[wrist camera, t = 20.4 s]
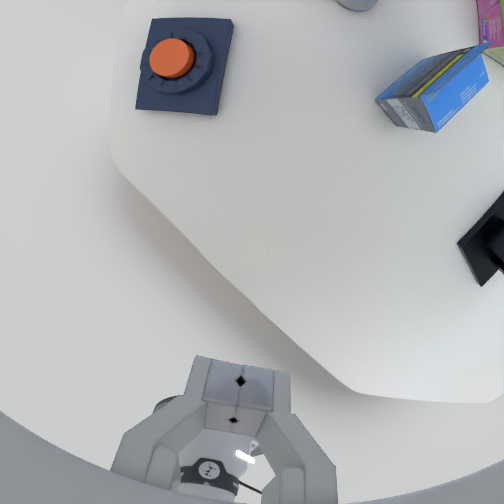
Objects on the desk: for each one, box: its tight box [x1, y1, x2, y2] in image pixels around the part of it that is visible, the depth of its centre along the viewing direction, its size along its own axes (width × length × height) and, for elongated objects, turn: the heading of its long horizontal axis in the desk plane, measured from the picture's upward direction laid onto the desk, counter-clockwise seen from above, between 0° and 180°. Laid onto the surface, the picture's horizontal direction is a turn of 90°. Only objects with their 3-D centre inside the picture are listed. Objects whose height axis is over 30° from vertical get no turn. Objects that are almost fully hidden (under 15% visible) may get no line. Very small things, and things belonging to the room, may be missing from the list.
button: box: [149, 38, 194, 78], centre depth 20 cm, size 4×4×2 cm
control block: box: [135, 18, 234, 115], centre depth 22 cm, size 10×8×4 cm
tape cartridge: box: [375, 41, 494, 133], centre depth 17 cm, size 9×4×12 cm, turn 136°
